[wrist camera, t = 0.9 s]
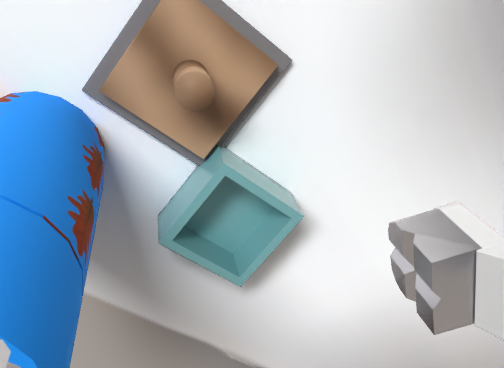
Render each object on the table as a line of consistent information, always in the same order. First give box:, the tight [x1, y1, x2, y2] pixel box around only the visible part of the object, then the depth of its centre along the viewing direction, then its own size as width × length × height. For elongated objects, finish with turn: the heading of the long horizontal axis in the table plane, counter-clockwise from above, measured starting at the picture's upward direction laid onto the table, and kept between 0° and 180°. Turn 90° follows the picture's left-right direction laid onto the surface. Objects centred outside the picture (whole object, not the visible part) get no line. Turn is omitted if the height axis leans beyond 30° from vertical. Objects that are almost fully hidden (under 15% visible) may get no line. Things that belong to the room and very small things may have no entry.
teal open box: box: [158, 145, 304, 287], centre depth 43 cm, size 9×9×4 cm
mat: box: [82, 0, 292, 166], centre depth 39 cm, size 12×12×1 cm
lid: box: [99, 0, 278, 159], centre depth 36 cm, size 10×10×5 cm
